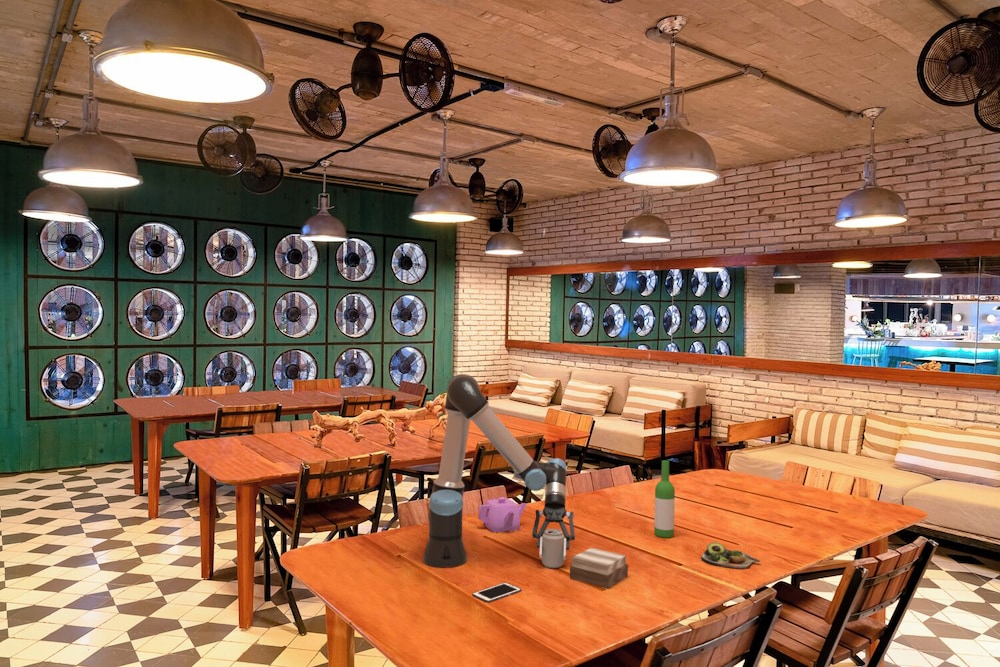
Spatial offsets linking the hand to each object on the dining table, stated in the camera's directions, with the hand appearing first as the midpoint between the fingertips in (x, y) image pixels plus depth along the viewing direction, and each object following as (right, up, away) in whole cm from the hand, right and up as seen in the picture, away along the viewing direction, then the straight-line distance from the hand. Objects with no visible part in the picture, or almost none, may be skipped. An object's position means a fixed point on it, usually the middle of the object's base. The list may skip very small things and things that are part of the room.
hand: (552, 556), depth 232 cm
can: (0, -4, +3) cm, 6 cm away
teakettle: (-17, -4, +47) cm, 50 cm away
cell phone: (-19, -4, -22) cm, 29 cm away
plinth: (+15, -4, -7) cm, 17 cm away
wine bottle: (+48, -5, +40) cm, 63 cm away
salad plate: (+63, -6, +13) cm, 65 cm away
